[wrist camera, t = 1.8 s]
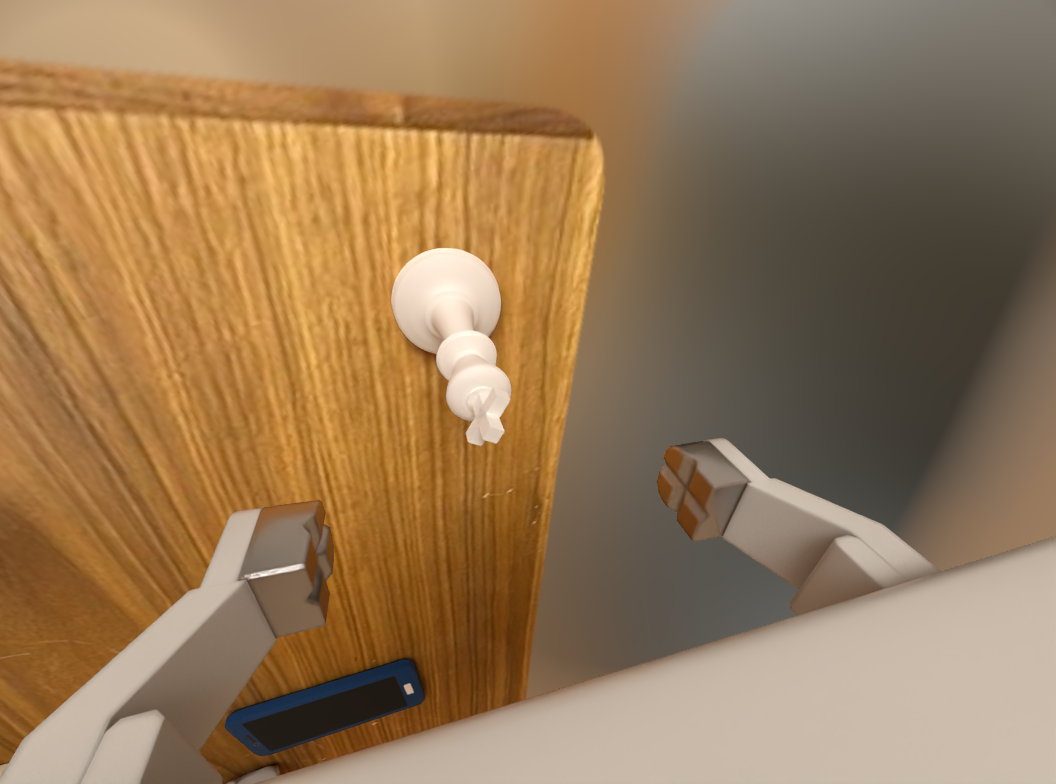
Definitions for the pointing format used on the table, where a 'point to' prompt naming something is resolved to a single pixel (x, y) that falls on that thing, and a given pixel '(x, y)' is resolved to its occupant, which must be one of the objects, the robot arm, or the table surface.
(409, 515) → the table surface
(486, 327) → the chess piece
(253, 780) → the figurine
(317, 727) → the cell phone
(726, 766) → the robot arm
